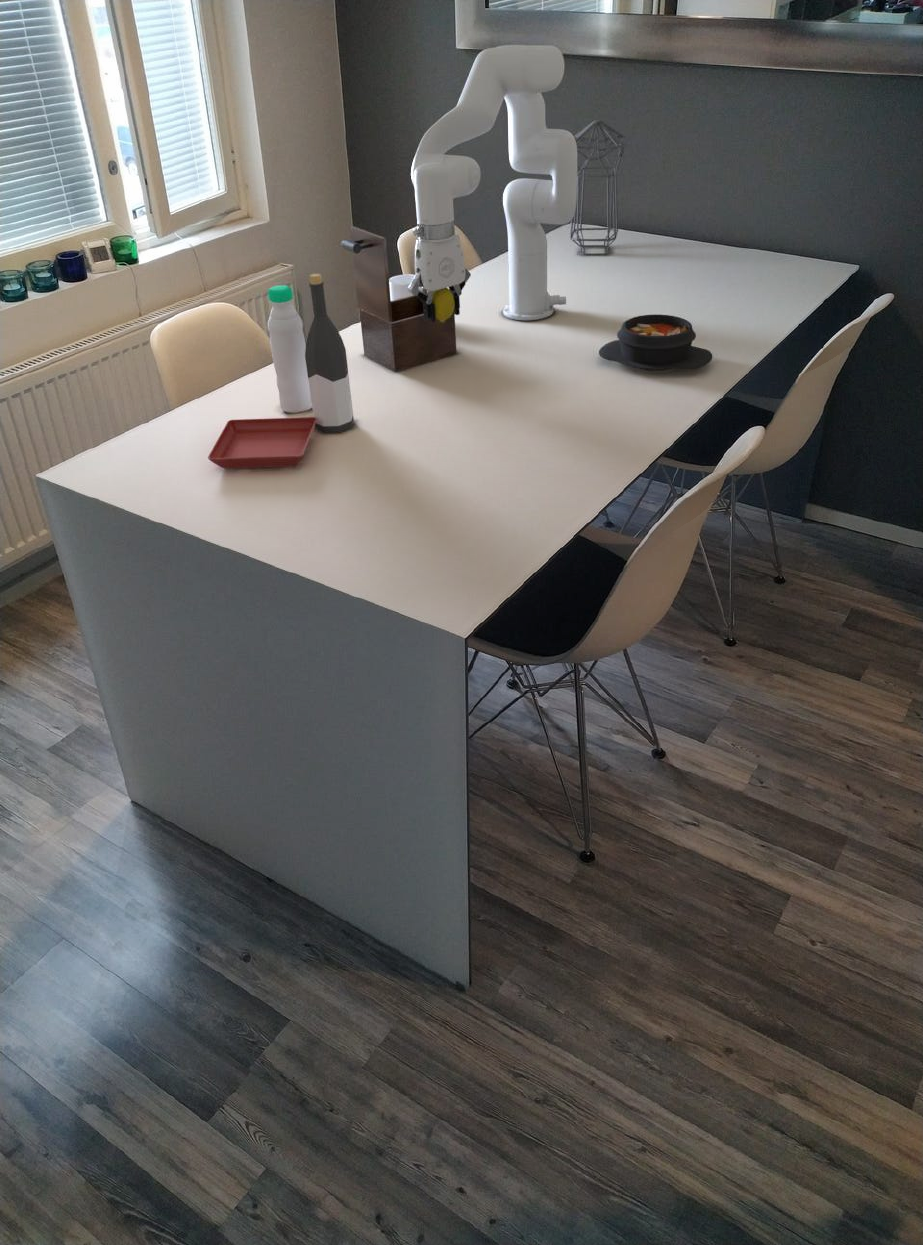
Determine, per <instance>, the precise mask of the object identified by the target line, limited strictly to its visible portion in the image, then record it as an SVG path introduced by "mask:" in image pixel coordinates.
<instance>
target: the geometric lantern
mask: <svg viewBox="0 0 923 1245" xmlns="http://www.w3.org/2000/svg"><path fill="white" fill-rule="evenodd" d="M599 130H600V132H601V134H602V138H603V139H601V140H600V139H599V138H600V137H599ZM590 131H591V134H590V137H589V138H588V137H586V136H587V134H589V132H590ZM606 135H607V136H608V137H607V136H606ZM573 136H574V138H575V141H576V145H577V154H579V155H580V156H581V157H583V158H584V159H585V162H584V163H583V165H582V166H581V167H580V166H579V164H578V163H577V201H576V210H575V214H574V217H573V218H572V220H571V221H570V235H569V240H570V241H572V242H573V243H575V244H576V245H577V246H578V247H579V255H582V256H607V255H609V254H610V246H611V245H612V244H613V243H614V241H616V239H617V237H618V234H619V233H618V232H619V212H618V174H617V173H618V168H619V166H620V163H621V159H622V157H623V156H624V155H623V154H624V152H625V148H626V145H625V139H626V136H624V135H623V134H621V133H620V132H619V131H617V130H615V128H613V127H611V126H610V125H609V124H606V123H605V122H604V121H603V120H600V119H596V120H595V119H594V121H592V122H590V123H589V124H588V125H587V126H585V127H584V128H583V129H582V130H580V131H579V132H578V133H576V134H575V135H573ZM593 137H594V138H593ZM620 138H621V139H620ZM609 140H611V141H610V143H609V144H608V141H609ZM585 141H588V143H587V142H585ZM592 142H595V146H592V145H591V144H592ZM579 143H582V144H583V145H585V146H580V145H578V144H579ZM600 143H605V144H604V147H600ZM613 144H614V145H613ZM618 148H619V151H618V154H617V155H616V158H615V161H614V164H613V165H612V164H611V163H610V161H609V158H608V157H607V155H609V154H610V153H612V152H614V151H615V150H616V149H617V150H618ZM580 149H583V150H586V152H587V156H586V155H585V154H584V153H582V152H581V151H580ZM590 150H592V152H591V154H590ZM606 150H608V151H606ZM596 151H597V157H593V156H594V153H595V152H596ZM600 152H602V153H603V154H601V155H600ZM603 157H605V160H606V161H607V163H608V165H609V166H606V165H605V163H604V161H603V159H602V158H603ZM597 160H599V161H600V163H601V166H602V167H601V166H599V167H597V166H596V167H588V165H589V163H590V162H591V161H592V162H593V161H597ZM616 163H617V164H616ZM608 169H610V170H611V173H609V171H608ZM586 170H604V171H605V173H606V175H600V174H599V175H588V174H587V175H586ZM581 172H582V175H580V173H581ZM580 178H582V183H581V184H582V185H581V186H582V187H581V202H580V180H581V179H580ZM585 178H606V226H607V227H582V226H583V214H584V195H585V181H586V179H585ZM610 178H611V180H610ZM610 182H611V183H610ZM612 226H613V227H612ZM579 231H580V236H581V237H580V236H579ZM583 231H607V233H606V237H605V238H584V234H583ZM612 231H613V234H612V235H611V236H610V233H611V232H612ZM574 234H575V235H576V238H574ZM585 242H603V244H585ZM587 248H588V249H589V248H593V249H594V248H600V249H601V248H603V249H604V253H585V249H587Z"/></svg>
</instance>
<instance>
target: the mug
mask: <svg viewBox="0 0 923 1245" xmlns="http://www.w3.org/2000/svg"><path fill="white" fill-rule="evenodd" d="M414 278H415V274H411V273H410V274H398V275H394V276H392V277H389V285H390V298H391V301H393V300H397V299H401V298H405V297H408V296H412V295H414V294H412V293H411V292H409V290H408V289H409V287H410V285H411V283H412V281H413V279H414ZM418 290H419V291H422V287H418Z"/></svg>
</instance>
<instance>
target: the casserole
mask: <svg viewBox="0 0 923 1245" xmlns="http://www.w3.org/2000/svg"><path fill="white" fill-rule="evenodd" d="M616 337H617V339H615V340H611V341H609V342H607V343H605V344H604V345H603V346H601V347H600V348H599V350H598V355H599V357H601V358H602V359H604V360H607V361H611V362H616V363H619V364H621V365H623V366H626V367H629V368H632V369H636V370H643V371H649V372H664V371H670V370H696V369H700V368H702V367H704V366H707V365H708V364H709V363H710V362H712V360H713V353H712V352H711V351H710V350H708V349H706V348H702V347H697V346H694V345H692V344H693V341H694V340H696V337H697V334H696V331H694V328H693V325H692V323H691V322H690V321H689V320H687V319H685V318H683V317H679V316H675V315H670V314H644V315H637V316H633V317H631V318H627V320H625V321H623V323H622V324H621V327H620V329H619V330H618V331H617V333H616Z"/></svg>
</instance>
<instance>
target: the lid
mask: <svg viewBox="0 0 923 1245" xmlns="http://www.w3.org/2000/svg"><path fill="white" fill-rule="evenodd" d="M349 232H350V233H349V234H350V240H349V239H347V238H346V239H343V240H342V241H341V248H342V249H343V250H346V251H348V252H351V254H352V263H353V264H352V265H353V275H354V284H355V294H356V306H357V308H358V309H362V310H364V311H366V312H369V313H371V314H373V315H375V316H377V317H379V318H381V319H384V320H386V321H388V322H392V311H391V298H390V285H389V279H390V273H389V262H388V261H389V260H388V250H387V238H386V237H385V236H381V235H379V234H376V233H373V232H371V231H368V230H365V229H362V228H360V227H358V226H354V225H351V226H349Z"/></svg>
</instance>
